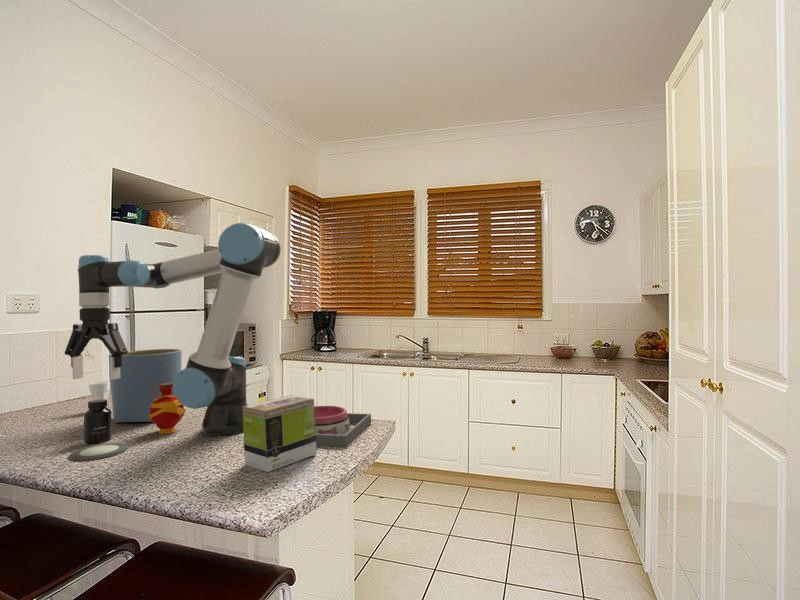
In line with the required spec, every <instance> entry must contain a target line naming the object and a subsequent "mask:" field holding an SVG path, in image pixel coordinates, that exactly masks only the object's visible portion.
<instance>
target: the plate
mask: <svg viewBox="0 0 800 600" xmlns="http://www.w3.org/2000/svg"><path fill="white" fill-rule="evenodd" d="M127 450H128V445H127V444H126V443H122V442H107V443H99V444H93V445H91V446H85V447H83V448H79V449H78V450H77V449H76V450H75V451H73V452H71V453H70V454H69V459H70V460H71V461H74V460H75V462H86V461H87V462H89V461H90V462H91V461H97V460H101V459H102V460H103V459H107V458H110V457H114V456H117V455H120V454H122V453H125V452H126V451H127Z"/></svg>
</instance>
